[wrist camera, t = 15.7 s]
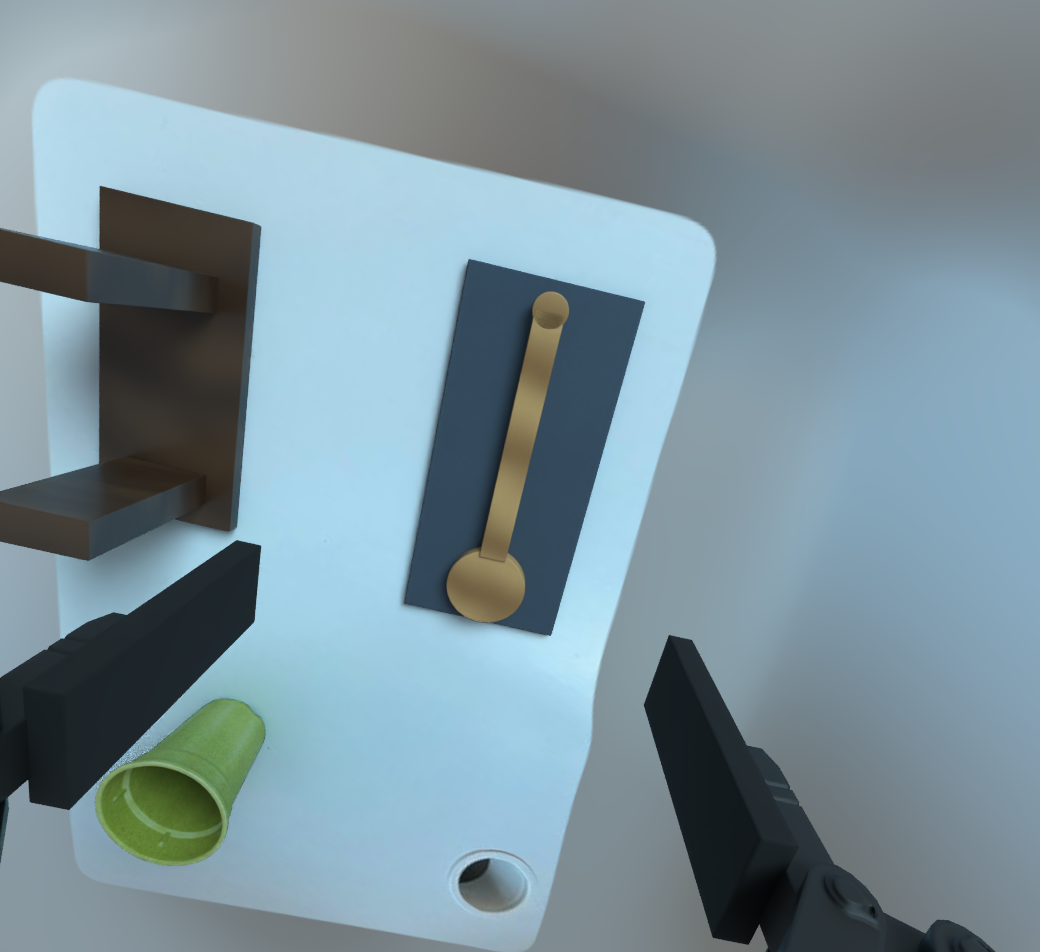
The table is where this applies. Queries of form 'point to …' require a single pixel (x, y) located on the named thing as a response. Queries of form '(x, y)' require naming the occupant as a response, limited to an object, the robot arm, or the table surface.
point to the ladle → (510, 481)
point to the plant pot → (182, 786)
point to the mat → (484, 424)
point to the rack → (147, 373)
